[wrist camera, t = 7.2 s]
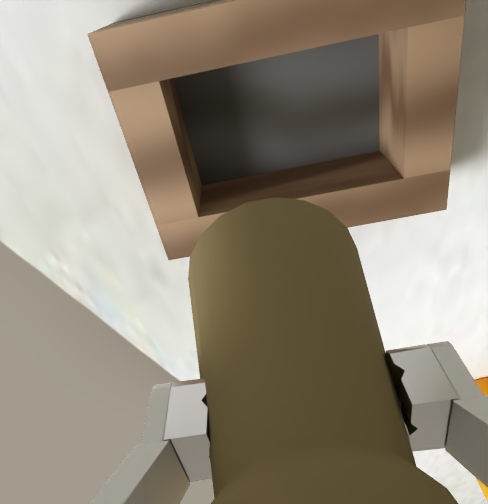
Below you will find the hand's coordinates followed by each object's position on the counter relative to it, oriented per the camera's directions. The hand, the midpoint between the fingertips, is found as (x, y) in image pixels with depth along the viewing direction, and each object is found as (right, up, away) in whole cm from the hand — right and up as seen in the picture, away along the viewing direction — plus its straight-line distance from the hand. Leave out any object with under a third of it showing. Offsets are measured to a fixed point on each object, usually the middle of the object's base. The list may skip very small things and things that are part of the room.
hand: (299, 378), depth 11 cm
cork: (0, +3, +4) cm, 5 cm away
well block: (+1, +14, +19) cm, 24 cm away
